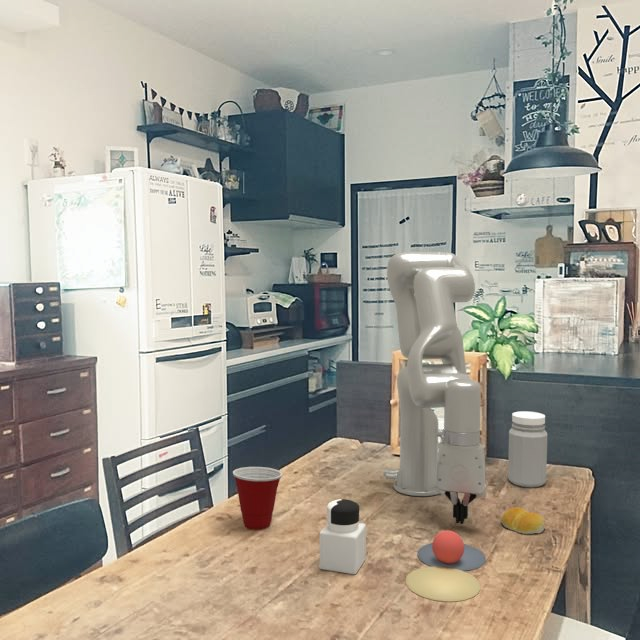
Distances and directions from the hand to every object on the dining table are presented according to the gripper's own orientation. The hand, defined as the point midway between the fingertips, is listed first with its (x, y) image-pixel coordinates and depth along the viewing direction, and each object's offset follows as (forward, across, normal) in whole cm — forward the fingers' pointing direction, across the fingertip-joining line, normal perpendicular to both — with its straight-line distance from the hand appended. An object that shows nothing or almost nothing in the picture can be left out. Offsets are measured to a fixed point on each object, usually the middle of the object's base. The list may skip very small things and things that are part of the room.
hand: (460, 521), depth 145 cm
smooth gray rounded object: (+2, 0, -15) cm, 15 cm away
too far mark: (+2, 0, -27) cm, 27 cm away
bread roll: (+2, +13, +5) cm, 14 cm away
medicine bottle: (+2, -19, -25) cm, 31 cm away
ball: (-2, 0, -18) cm, 18 cm away
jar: (+2, +13, +37) cm, 39 cm away
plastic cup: (+2, -42, -12) cm, 44 cm away
